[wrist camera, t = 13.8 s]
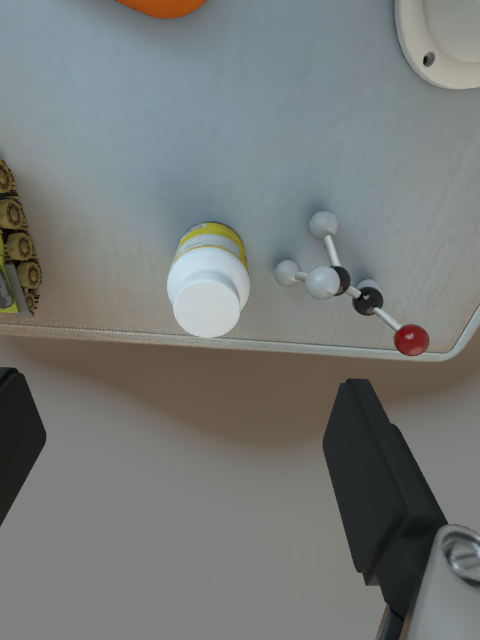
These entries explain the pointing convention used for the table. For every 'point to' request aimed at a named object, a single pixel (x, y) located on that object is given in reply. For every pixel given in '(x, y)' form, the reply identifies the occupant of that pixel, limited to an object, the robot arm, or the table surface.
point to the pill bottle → (209, 279)
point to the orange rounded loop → (163, 7)
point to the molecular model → (347, 286)
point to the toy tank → (16, 254)
